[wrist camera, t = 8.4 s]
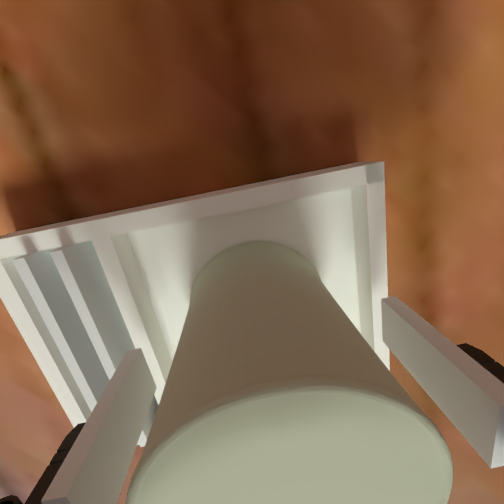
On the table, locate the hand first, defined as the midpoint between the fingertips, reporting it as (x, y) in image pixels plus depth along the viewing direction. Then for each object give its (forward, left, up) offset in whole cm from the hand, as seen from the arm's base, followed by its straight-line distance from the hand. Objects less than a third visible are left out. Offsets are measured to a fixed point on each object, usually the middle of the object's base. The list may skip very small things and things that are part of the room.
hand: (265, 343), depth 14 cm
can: (0, 0, -4) cm, 4 cm away
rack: (0, -3, -5) cm, 6 cm away
